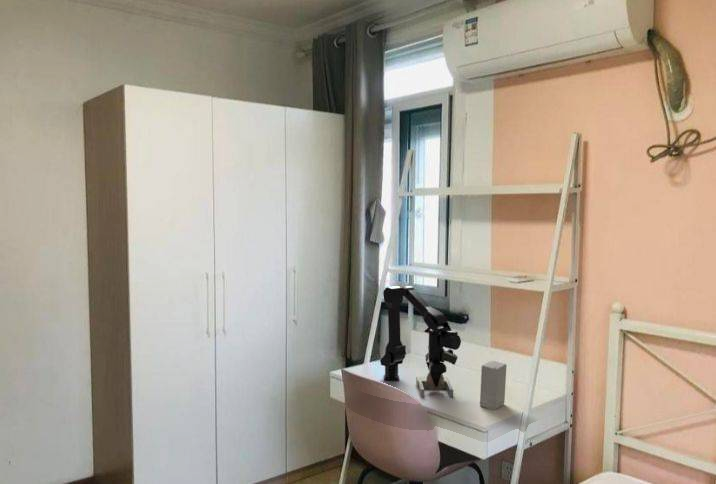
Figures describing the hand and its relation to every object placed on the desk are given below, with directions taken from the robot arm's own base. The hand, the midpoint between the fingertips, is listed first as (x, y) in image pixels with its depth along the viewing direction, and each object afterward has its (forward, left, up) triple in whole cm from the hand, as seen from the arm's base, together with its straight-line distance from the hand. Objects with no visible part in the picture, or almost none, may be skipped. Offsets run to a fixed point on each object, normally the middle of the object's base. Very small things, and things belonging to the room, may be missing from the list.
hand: (435, 383), depth 226 cm
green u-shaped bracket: (-2, 0, -3) cm, 4 cm away
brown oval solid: (0, 0, -3) cm, 2 cm away
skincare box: (+15, +20, -4) cm, 25 cm away
